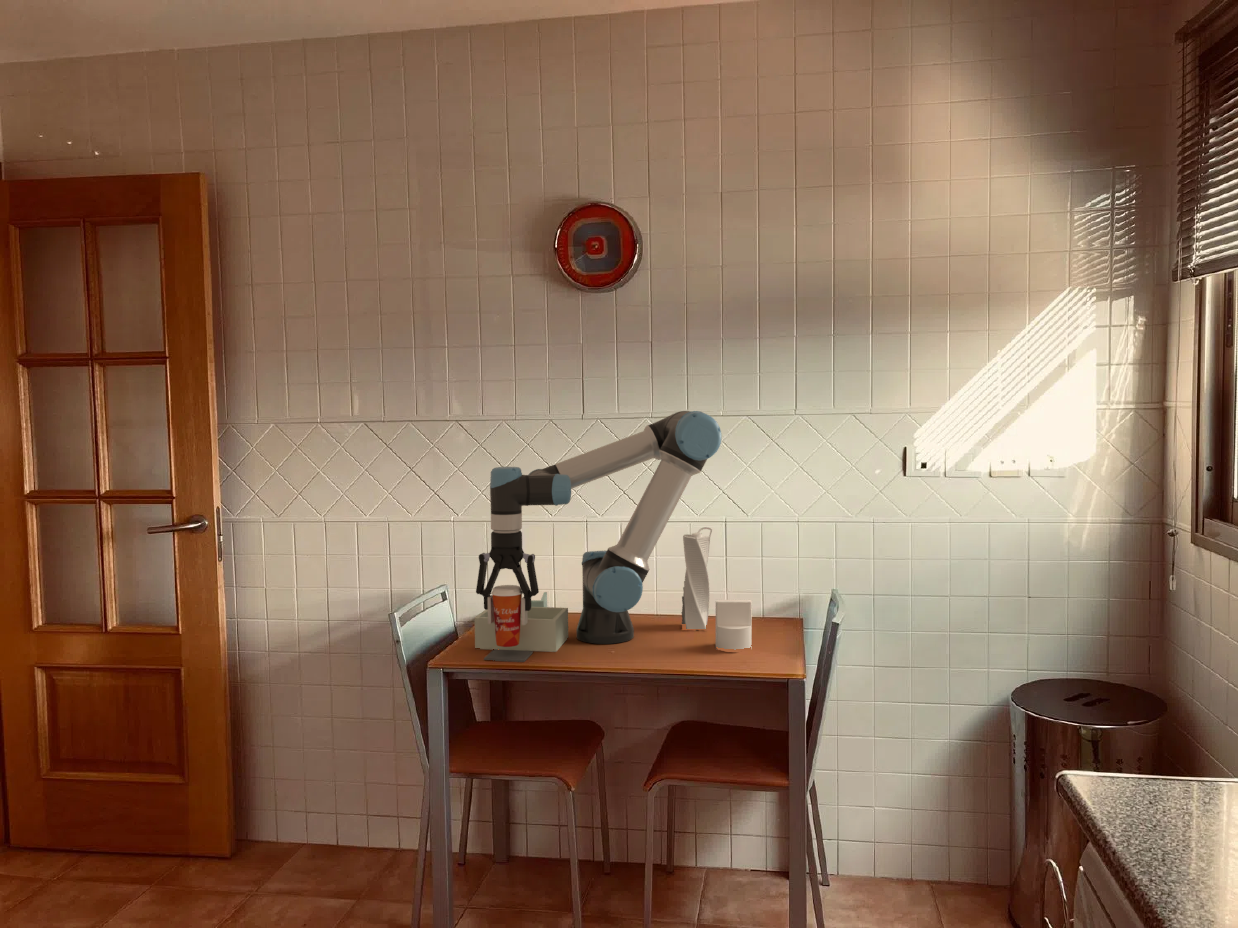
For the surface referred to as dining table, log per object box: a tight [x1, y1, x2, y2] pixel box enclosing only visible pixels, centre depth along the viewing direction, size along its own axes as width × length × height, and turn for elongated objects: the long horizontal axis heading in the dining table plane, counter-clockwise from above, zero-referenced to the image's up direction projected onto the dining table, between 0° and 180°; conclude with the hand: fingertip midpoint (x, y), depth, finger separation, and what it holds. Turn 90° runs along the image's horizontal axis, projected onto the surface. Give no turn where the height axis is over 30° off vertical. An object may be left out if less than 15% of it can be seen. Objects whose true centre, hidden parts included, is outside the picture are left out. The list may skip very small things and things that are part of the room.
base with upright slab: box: [715, 599, 753, 650], centre depth 243 cm, size 9×9×12 cm
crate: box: [474, 606, 569, 653], centre depth 249 cm, size 21×14×8 cm, turn 80°
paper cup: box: [490, 584, 524, 647], centre depth 236 cm, size 8×8×14 cm
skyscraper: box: [681, 526, 713, 629], centre depth 263 cm, size 8×8×28 cm
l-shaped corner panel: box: [531, 591, 548, 607], centre depth 271 cm, size 12×12×8 cm
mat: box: [483, 649, 534, 663], centre depth 237 cm, size 10×8×1 cm
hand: (507, 622), depth 236 cm, fingers closed on paper cup, 8 cm apart
